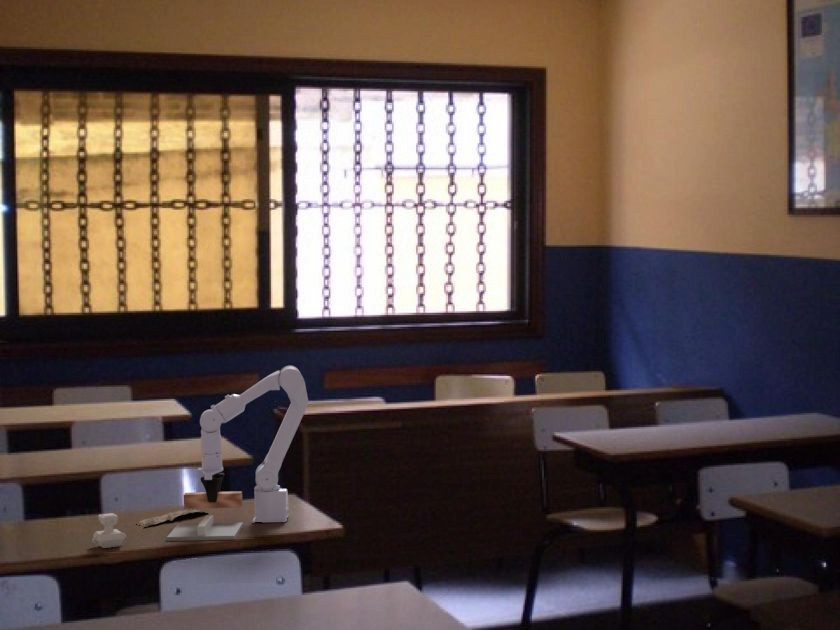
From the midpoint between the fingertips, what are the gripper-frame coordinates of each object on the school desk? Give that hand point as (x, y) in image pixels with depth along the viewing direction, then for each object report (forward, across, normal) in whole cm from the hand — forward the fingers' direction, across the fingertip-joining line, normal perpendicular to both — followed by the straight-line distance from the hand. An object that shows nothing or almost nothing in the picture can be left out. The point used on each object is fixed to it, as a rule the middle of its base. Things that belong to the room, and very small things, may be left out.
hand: (213, 500), depth 359 cm
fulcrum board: (+6, +13, 0) cm, 14 cm away
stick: (+2, 0, 0) cm, 2 cm away
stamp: (+6, +26, -23) cm, 35 cm away
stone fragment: (+7, -5, -14) cm, 16 cm away
